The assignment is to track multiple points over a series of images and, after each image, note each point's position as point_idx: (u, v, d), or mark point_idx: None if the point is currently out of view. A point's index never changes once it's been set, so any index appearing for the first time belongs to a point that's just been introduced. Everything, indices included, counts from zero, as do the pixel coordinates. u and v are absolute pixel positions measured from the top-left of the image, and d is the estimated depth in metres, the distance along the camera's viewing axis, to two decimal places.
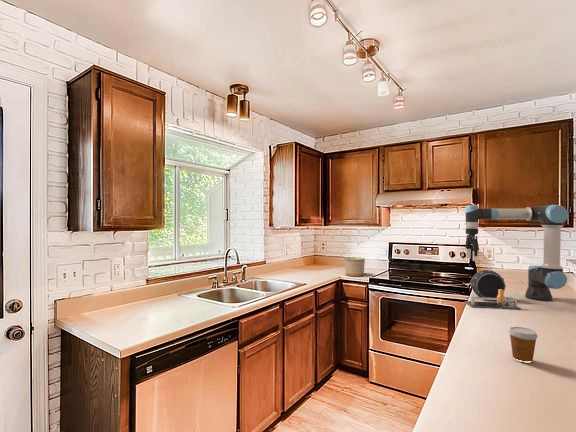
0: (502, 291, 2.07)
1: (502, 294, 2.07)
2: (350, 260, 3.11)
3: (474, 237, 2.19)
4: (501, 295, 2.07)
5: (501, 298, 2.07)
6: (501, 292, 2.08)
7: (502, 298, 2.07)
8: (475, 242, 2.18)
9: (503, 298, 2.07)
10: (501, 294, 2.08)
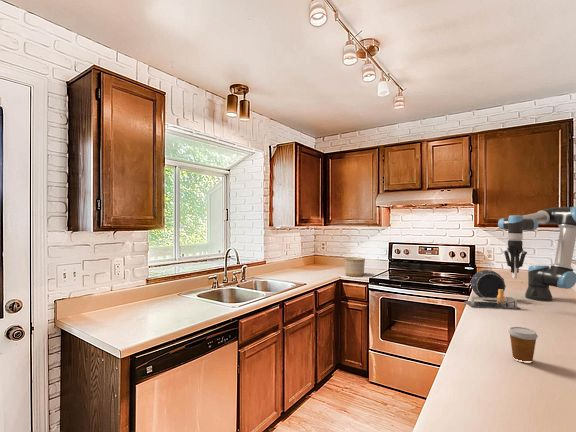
0: (502, 291, 2.07)
1: (502, 294, 2.07)
2: (350, 260, 3.11)
3: (504, 252, 2.09)
4: (501, 295, 2.07)
5: (501, 298, 2.07)
6: (501, 292, 2.08)
7: (502, 298, 2.07)
8: (506, 258, 2.08)
9: (503, 298, 2.07)
10: (501, 294, 2.08)
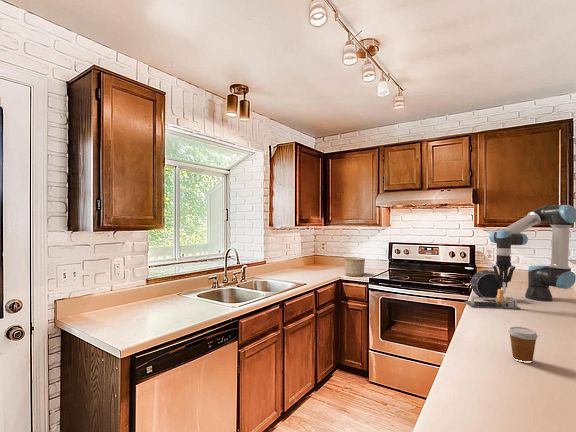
0: (501, 291, 2.07)
1: (501, 294, 2.07)
2: (350, 260, 3.11)
3: (492, 267, 2.10)
4: (500, 295, 2.08)
5: (500, 298, 2.07)
6: (500, 292, 2.08)
7: (501, 298, 2.07)
8: (495, 272, 2.09)
9: (502, 298, 2.07)
10: (500, 294, 2.08)
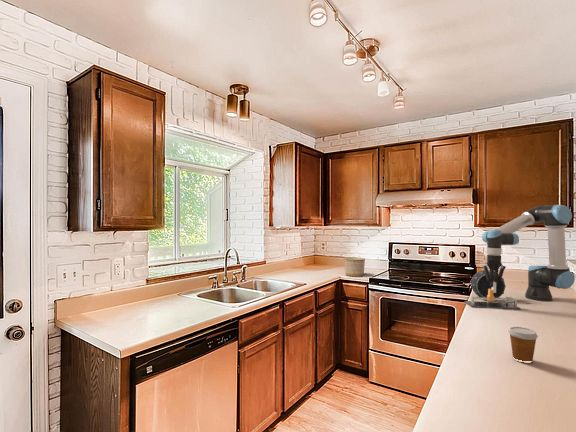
0: (492, 291, 2.08)
1: (492, 294, 2.08)
2: (350, 260, 3.11)
3: (483, 267, 2.11)
4: (491, 295, 2.08)
5: (491, 298, 2.08)
6: (491, 292, 2.08)
7: (492, 298, 2.08)
8: (485, 272, 2.10)
9: (493, 298, 2.08)
10: (491, 294, 2.08)
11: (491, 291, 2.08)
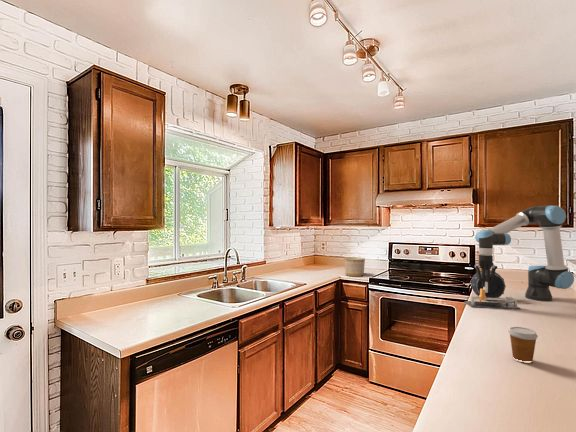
0: (483, 290, 2.09)
1: (483, 293, 2.09)
2: (350, 260, 3.11)
3: (475, 267, 2.11)
4: (482, 294, 2.09)
5: (482, 297, 2.09)
6: (482, 291, 2.09)
7: (483, 297, 2.09)
8: (477, 272, 2.11)
9: (484, 297, 2.09)
10: (482, 293, 2.09)
11: (483, 291, 2.09)
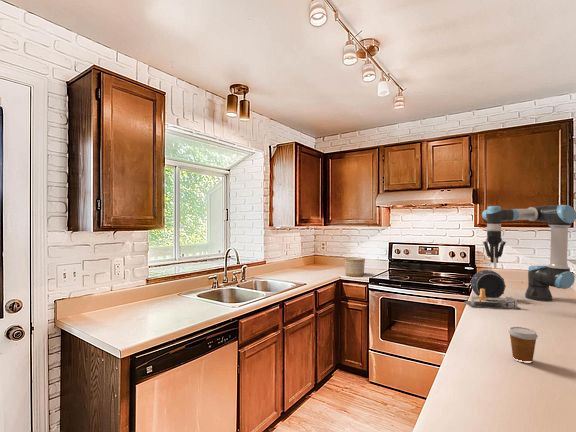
0: (483, 290, 2.09)
1: (483, 293, 2.09)
2: (350, 260, 3.11)
3: (483, 243, 2.11)
4: (482, 294, 2.09)
5: (482, 297, 2.09)
6: (482, 291, 2.09)
7: (483, 297, 2.09)
8: (485, 248, 2.11)
9: (484, 297, 2.09)
10: (482, 293, 2.09)
11: (483, 291, 2.09)
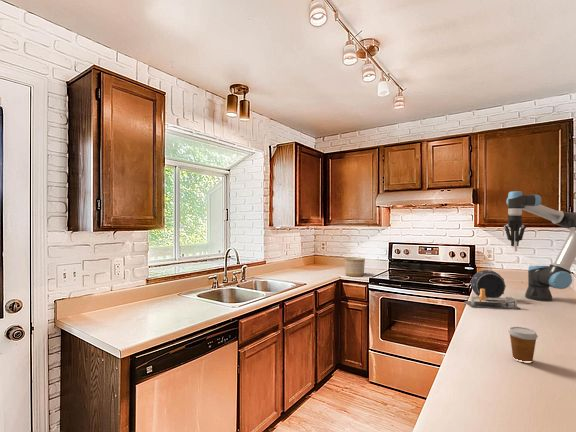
0: (483, 290, 2.09)
1: (483, 293, 2.09)
2: (350, 260, 3.11)
3: (504, 227, 2.19)
4: (482, 294, 2.09)
5: (482, 297, 2.09)
6: (482, 291, 2.09)
7: (483, 297, 2.09)
8: (506, 232, 2.18)
9: (484, 297, 2.09)
10: (482, 293, 2.09)
11: (483, 291, 2.09)
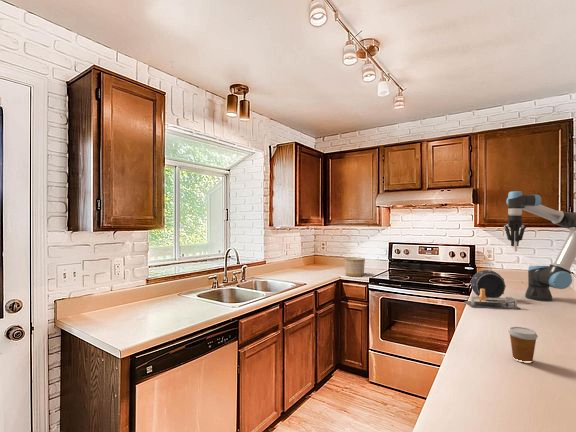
0: (483, 290, 2.09)
1: (483, 293, 2.09)
2: (350, 260, 3.11)
3: (504, 227, 2.19)
4: (482, 294, 2.09)
5: (482, 297, 2.09)
6: (482, 291, 2.09)
7: (483, 297, 2.09)
8: (506, 232, 2.18)
9: (484, 297, 2.09)
10: (482, 293, 2.09)
11: (483, 291, 2.09)
